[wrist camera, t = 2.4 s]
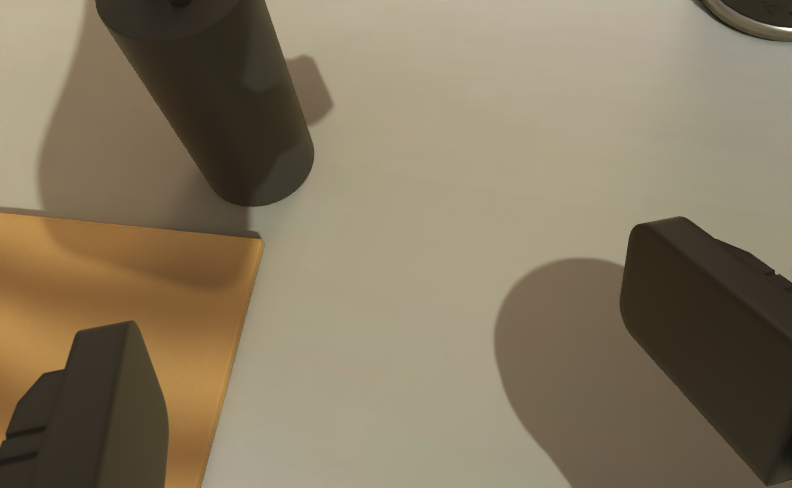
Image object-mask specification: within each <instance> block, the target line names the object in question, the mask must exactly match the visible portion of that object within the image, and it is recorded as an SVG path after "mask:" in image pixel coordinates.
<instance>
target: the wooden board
mask: <svg viewBox="0 0 792 488" xmlns="http://www.w3.org/2000/svg"><path fill="white" fill-rule="evenodd" d="M263 248H264V242H263V241H262V239H257V238H247V237H237V236H227V235H217V234H207V233H197V232H187V231H177V230H167V229H158V228H148V227H138V226H128V225H118V224H108V223H98V222H88V221H78V220H68V219H58V218H48V217H38V216H29V215H19V214H9V213H0V446H1V444H2V441H3V440H6V435H5V433H6V431H7V428H8V425H9V423H10V420H11V418H12V415H13V412H14V410H15V407H16V404H17V402H18V401H19V400H20V399H21V398H22V397H23V396H24V394H25V393H26V392H27V391H28V390H29V389H30V388H31V386H32V385H33V384H34V383H35V382H36V381H37V380H38V378H39V377H40V376H41V375H42V374H43V373H46V372H51V371H56V370H61V369H64V368H65V365H66V362H67V359H68V356H69V352H70V349H71V346H72V343H73V340H74V337H75V334H76V333H77V332H78V331H79V330H83V329H89V328H94V327H99V326H104V325H109V324H115V323H120V322H125V321H130V320H133V321H135V322H136V324H137V325H138V327H139V329H140V331H141V334H142V337H143V340H144V342H145V345H146V348H147V351H148V353H149V356H150V359H151V362H152V365H153V367H154V370H155V373H156V376H157V379H158V381H159V384H160V387H161V390H162V392H163V395H164V399H165V403H166V407H167V413H168V421H169V443H168V454H167V465H166V477H165V488H201V484H202V481H203V477H204V473H205V469H206V465H207V462H208V458H209V454H210V450H211V446H212V442H213V439H214V435H215V431H216V427H217V423H218V420H219V416H220V412H221V408H222V404H223V401H224V397H225V393H226V389H227V385H228V381H229V378H230V374H231V370H232V366H233V362H234V359H235V355H236V351H237V347H238V343H239V339H240V336H241V332H242V328H243V324H244V320H245V317H246V313H247V309H248V305H249V301H250V298H251V294H252V290H253V286H254V282H255V278H256V275H257V271H258V267H259V263H260V259H261V256H262V252H263Z"/></svg>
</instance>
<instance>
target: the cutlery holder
mask: <svg viewBox="0 0 792 488" xmlns="http://www.w3.org/2000/svg"><path fill="white" fill-rule="evenodd" d="M95 1H96V8H97V11H98V14H99V16H100V18H101V19H102V21H103V23H104V24H105V26H106V27H107V29H108V30H109V32H110V33H111V35H112V36H113V38H114V39H115V41H116V42H117V44H118V45H119V47H120V49H121V50H122V52H123V53H124V55H125V56H126V58H127V59H128V61H129V62H130V64H131V65H132V67H133V68H134V70H135V71H136V73H137V74H138V76H139V77H140V79H141V80H142V82H143V84H144V85H145V87H146V88H147V90H148V91H149V93H150V94H151V96H152V97H153V99H154V100H155V102H156V103H157V105H158V106H159V108H160V109H161V111H162V112H163V114H164V115H165V117H166V119H167V120H168V122H169V123H170V125H171V126H172V128H173V129H174V131H175V132H176V134H177V135H178V137H179V138H180V140H181V141H182V143H183V144H184V146H185V147H186V149H187V150H188V152H189V154H190V155H191V157H192V158H193V160H194V161H195V163H196V164H197V166H198V167H199V169H200V170H201V172H202V173H203V175H204V176H205V178H206V179H207V181H208V182H209V184H210V185H211V187H212V188H213V190H214V191H215V192H216V193H217V194H218V195H219V196H220V197H222V198H223V199H225V200H227V201H229V202H231V203H234V204H237V205H242V206H253V207H254V206H263V205H268V204H272V203H275V202H277V201H280V200H282V199H284V198H285V197H287V196H289V195H290V194H292V193H293V192H294V191H295V190H296V189H298V188H299V187H300V186H301V184H302V183H303V182H304V181H305V179H306V178H307V176H308V174H309V172H310V170H311V168H312V164H313V160H314V147H313V143H312V140H311V137H310V134H309V131H308V128H307V125H306V122H305V119H304V116H303V113H302V110H301V107H300V104H299V101H298V98H297V95H296V92H295V89H294V86H293V83H292V80H291V77H290V74H289V71H288V68H287V65H286V62H285V59H284V56H283V53H282V50H281V47H280V44H279V41H278V38H277V35H276V32H275V29H274V26H273V24H272V21H271V18H270V15H269V12H268V9H267V6H266V3H265V0H95Z"/></svg>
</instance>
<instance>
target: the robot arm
mask: <svg viewBox="0 0 792 488" xmlns="http://www.w3.org/2000/svg"><path fill="white" fill-rule="evenodd" d="M702 1H703V3H704V4H705V5H706V7H707V8H708V9H709V10H710V11H711V12H712V13H713V14H714V15H716V16H717V17H718V18H720V19H721V20H722V21H724V22H725V23H727V24H728V25H730V26H732V27H734V28H736V29H738V30H740V31H742V32H745V33H748V34H750V35H753V36H757V37H760V38H764V39H769V40H775V41H785V42H792V0H702ZM620 311H621V316H622V319H623V322H624V324H625V326H626V328H627V330H628V332H629V333H630V334H631V336H632V337H633V338H634V339H635V340H636V341H637V342H638V344H639V345H640V346H641V347H642V348H643V349H644V350H645V351H646V352H647V354H648V355H649V356H650V357H651V358H652V359H653V360H654V361H655V363H656V364H657V365H658V366H659V367H660V368H661V369H662V370H663V371H664V373H665V374H666V375H667V376H668V377H669V378H670V379H671V380H672V381H673V383H674V384H675V385H676V386H677V387H678V388H679V389H680V390H681V391H682V393H683V394H684V395H685V396H686V397H687V398H688V399H689V400H690V401H691V403H692V404H693V405H694V406H695V407H696V408H697V409H698V410H699V412H700V413H701V414H702V415H703V416H704V417H705V418H706V419H707V420H708V422H709V423H710V424H711V425H712V426H713V427H714V428H715V429H716V430H717V432H718V433H719V434H720V435H721V436H722V437H723V438H724V439H725V440H726V442H727V443H728V444H729V445H730V446H731V447H732V448H733V449H734V451H735V452H736V453H737V454H738V455H739V456H740V457H741V458H742V459H743V461H744V462H745V463H746V464H747V465H748V466H749V467H750V468H751V469H752V471H753V472H754V473H755V474H756V475H757V476H758V477H759V478H760V479H761V481H762V482H763V483H764V484H765V485H766V486H771V485H774V484H778V483H781V482H785V481H788V480H792V283H791V282H790V281H789V280H787V279H786V278H784V277H783V276H782V275H780V274H779V275H776V274H775V270H773V269H772V268H770V267H769V266H768V265H766V264H765V263H763V262H762V261H760V260H759V259H758V258H756V257H755V256H753V255H752V254H751V253H749V252H747V251H744V250H742V249H739V248H737V247H735V246H732V245H730V244H727V243H725V242H722V241H720V240H717V239H715V238H713V237H712V236H711V235H709V234H708V233H706V232H705V231H704V230H702V229H701V228H700V227H698V226H697V225H696V224H694V223H693V222H691V221H690V220H689V219H687V218H685V217H680V216H678V217H673V218H668V219H663V220H658V221H653V222H647V223H642V224H638V225H636V226H635V227H634V228H633V229H632V231H631V233H630V236H629V242H628V248H627V255H626V262H625V268H624V275H623V281H622V288H621V295H620ZM5 435H6V440H3V441H2V444H1V446H0V488H165V477H166V465H167V454H168V443H169V421H168V413H167V407H166V403H165V399H164V395H163V392H162V390H161V387H160V384H159V381H158V379H157V376H156V373H155V370H154V367H153V365H152V362H151V359H150V356H149V353H148V351H147V348H146V345H145V342H144V340H143V337H142V334H141V331H140V329H139V327H138V325H137V324H136V322H135V321H133V320H130V321H125V322H120V323H115V324H109V325H104V326H99V327H94V328H89V329H83V330H79V331H78V332H77V333H76V334H75V337H74V340H73V343H72V346H71V349H70V352H69V356H68V359H67V362H66V365H65V368H64V369H61V370H56V371H51V372H46V373H43V374H42V375H41V376H40V377H39V378H38V380H37V381H36V382H35V383H34V384H33V385H32V386H31V388H30V389H29V390H28V391H27V392H26V393H25V394H24V396H23V397H22V398H21V399H20V400H19V401H18V402H17V404H16V407H15V410H14V412H13V415H12V418H11V420H10V423H9V425H8V428H7V431H6V433H5Z"/></svg>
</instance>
